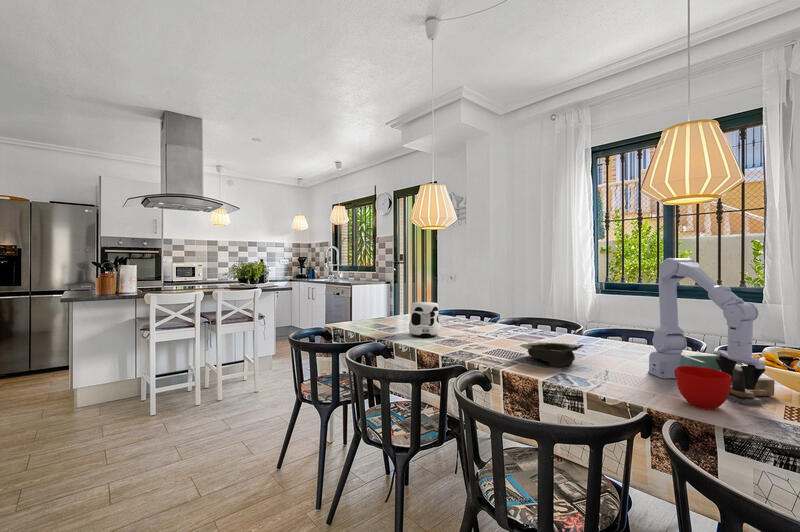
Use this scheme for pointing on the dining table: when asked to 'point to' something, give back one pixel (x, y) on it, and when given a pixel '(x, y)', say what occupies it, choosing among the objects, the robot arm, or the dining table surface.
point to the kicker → (761, 389)
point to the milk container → (424, 319)
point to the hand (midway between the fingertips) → (738, 385)
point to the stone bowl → (552, 353)
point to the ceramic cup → (703, 386)
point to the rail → (745, 400)
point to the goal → (701, 361)
